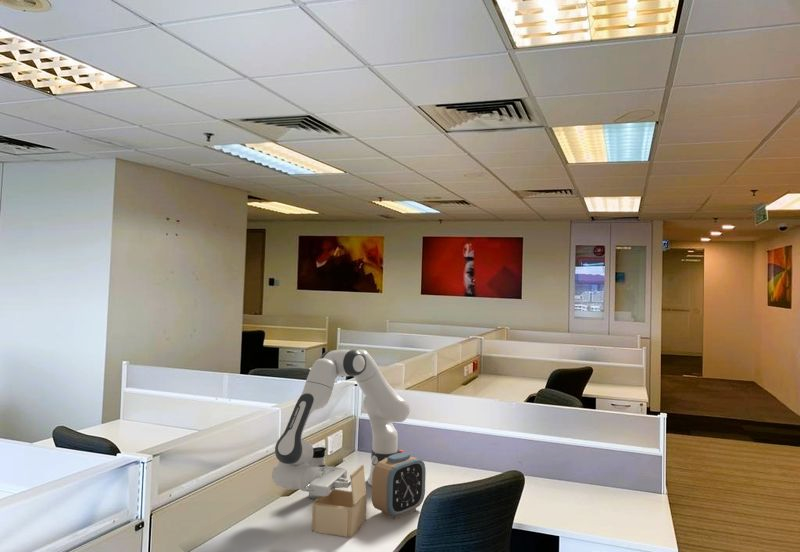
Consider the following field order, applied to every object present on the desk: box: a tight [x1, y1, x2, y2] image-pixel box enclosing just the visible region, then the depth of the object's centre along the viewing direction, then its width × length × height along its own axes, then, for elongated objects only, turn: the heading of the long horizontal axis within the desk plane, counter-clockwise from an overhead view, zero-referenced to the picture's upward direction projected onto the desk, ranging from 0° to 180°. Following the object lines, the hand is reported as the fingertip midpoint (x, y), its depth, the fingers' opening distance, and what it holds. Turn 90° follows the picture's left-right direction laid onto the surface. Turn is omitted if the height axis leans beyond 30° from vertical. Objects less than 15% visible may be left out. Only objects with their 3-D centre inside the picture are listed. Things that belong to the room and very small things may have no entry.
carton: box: [311, 488, 368, 539], centre depth 206 cm, size 16×16×10 cm
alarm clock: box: [371, 451, 427, 520], centre depth 219 cm, size 21×10×22 cm, turn 137°
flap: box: [349, 464, 367, 505], centre depth 204 cm, size 1×12×10 cm, turn 164°
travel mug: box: [308, 446, 327, 500], centre depth 233 cm, size 6×7×20 cm
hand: (349, 484), depth 205 cm, fingers closed
